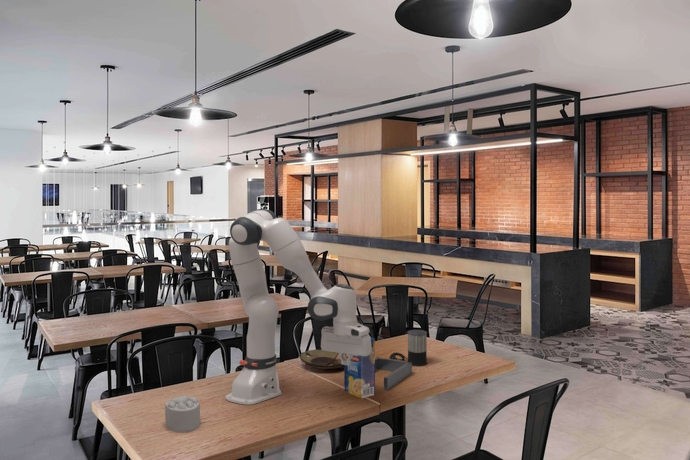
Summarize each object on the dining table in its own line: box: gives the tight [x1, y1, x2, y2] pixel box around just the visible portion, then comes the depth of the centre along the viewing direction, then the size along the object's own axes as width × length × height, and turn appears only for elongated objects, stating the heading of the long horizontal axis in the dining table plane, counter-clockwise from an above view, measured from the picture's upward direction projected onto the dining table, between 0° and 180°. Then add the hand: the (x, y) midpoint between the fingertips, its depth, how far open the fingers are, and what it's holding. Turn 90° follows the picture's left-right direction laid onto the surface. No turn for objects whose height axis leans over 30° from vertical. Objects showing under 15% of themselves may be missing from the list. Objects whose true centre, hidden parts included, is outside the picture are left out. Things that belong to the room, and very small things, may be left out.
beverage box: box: [343, 336, 376, 399], centre depth 212 cm, size 7×11×22 cm, turn 35°
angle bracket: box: [375, 356, 413, 391], centre depth 230 cm, size 25×17×5 cm
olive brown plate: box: [299, 348, 344, 370], centre depth 245 cm, size 22×30×8 cm
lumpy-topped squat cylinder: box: [164, 395, 201, 433], centre depth 182 cm, size 10×13×9 cm
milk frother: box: [389, 329, 428, 367], centre depth 253 cm, size 14×16×15 cm
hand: (345, 364), depth 202 cm, fingers closed
